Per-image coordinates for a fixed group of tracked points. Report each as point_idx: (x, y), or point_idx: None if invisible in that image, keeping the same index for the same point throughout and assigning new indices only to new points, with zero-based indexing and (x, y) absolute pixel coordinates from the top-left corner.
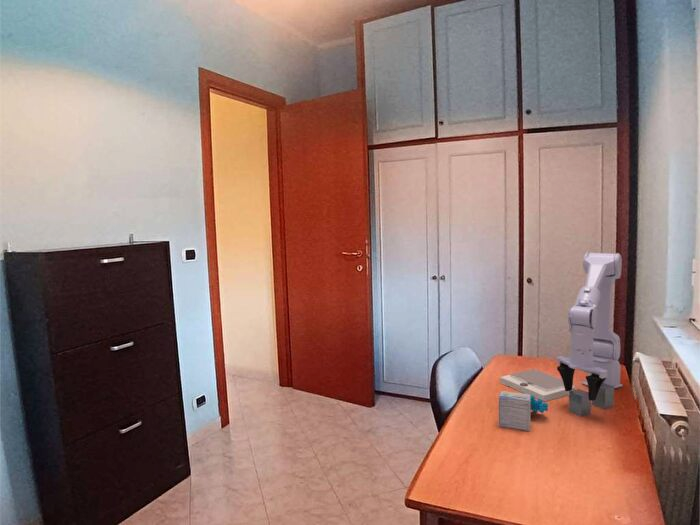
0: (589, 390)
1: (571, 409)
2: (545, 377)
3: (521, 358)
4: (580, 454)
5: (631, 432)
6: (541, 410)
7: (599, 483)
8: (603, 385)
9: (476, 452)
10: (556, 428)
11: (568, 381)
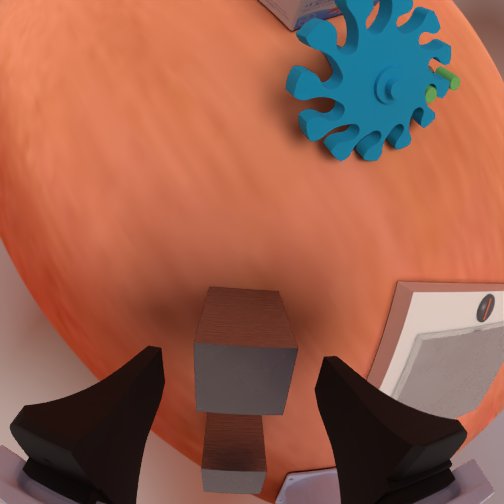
0: (125, 380)
1: (264, 296)
2: (446, 404)
3: (487, 422)
4: (62, 37)
5: (52, 308)
6: (334, 133)
7: (16, 15)
8: (235, 484)
9: None
10: (200, 84)
11: (342, 410)
